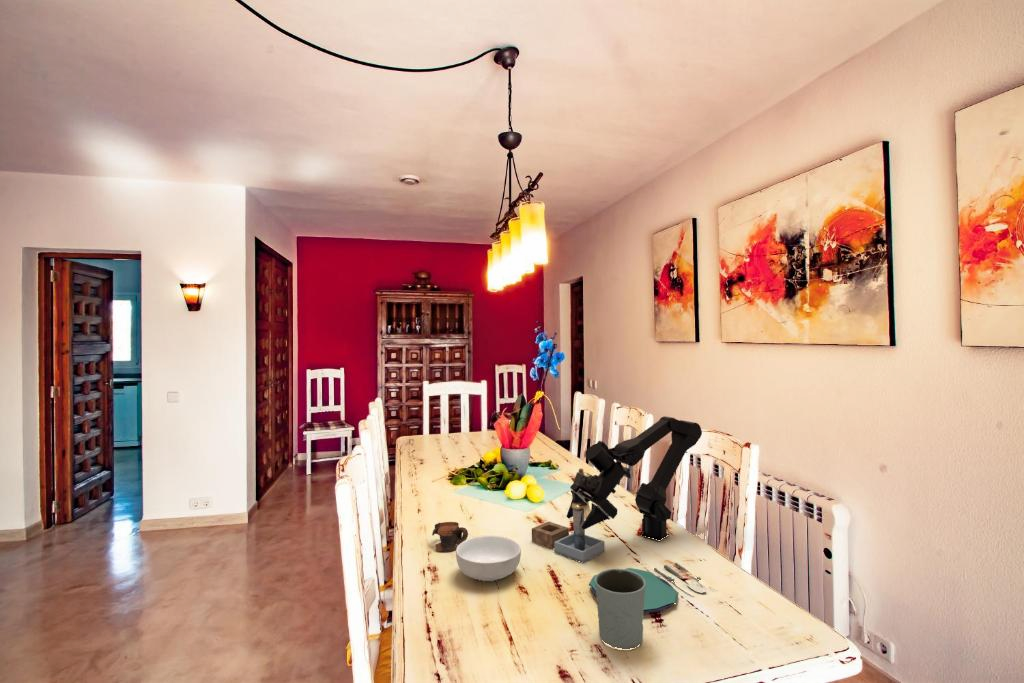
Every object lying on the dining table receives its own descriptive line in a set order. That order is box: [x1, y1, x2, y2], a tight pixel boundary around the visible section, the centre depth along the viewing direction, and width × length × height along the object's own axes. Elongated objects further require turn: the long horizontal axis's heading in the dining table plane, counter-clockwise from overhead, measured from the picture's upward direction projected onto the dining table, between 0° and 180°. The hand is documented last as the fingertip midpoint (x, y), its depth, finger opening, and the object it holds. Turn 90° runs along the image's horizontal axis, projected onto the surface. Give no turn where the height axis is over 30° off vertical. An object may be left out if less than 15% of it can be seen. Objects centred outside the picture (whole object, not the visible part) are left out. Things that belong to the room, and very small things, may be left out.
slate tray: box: [553, 532, 606, 564], centre depth 140 cm, size 10×10×3 cm
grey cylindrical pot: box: [595, 568, 646, 649], centre depth 99 cm, size 10×10×12 cm
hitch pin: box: [572, 502, 586, 551], centre depth 140 cm, size 4×4×13 cm
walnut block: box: [531, 521, 570, 550], centre depth 148 cm, size 8×8×4 cm
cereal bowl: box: [455, 535, 522, 582], centre depth 128 cm, size 17×17×7 cm
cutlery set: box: [588, 562, 702, 614], centre depth 118 cm, size 20×30×2 cm, turn 111°
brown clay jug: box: [431, 521, 469, 553], centre depth 146 cm, size 12×9×8 cm
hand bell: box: [571, 468, 591, 518], centre depth 171 cm, size 8×8×16 cm
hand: (574, 522), depth 140 cm, fingers open, 9 cm apart
